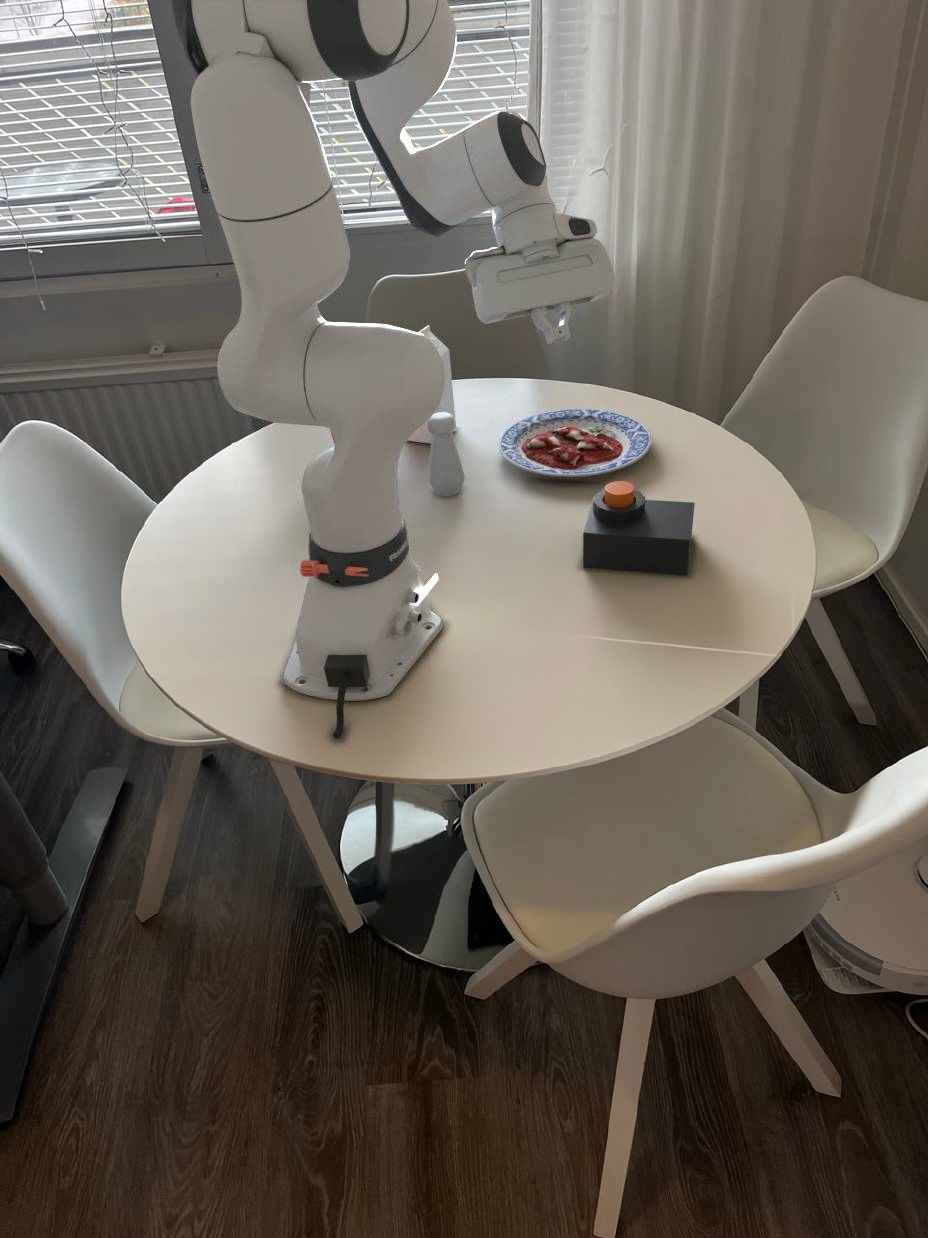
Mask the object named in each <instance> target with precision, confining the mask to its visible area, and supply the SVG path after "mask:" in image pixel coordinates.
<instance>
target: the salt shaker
mask: <svg viewBox="0 0 928 1238" xmlns="http://www.w3.org/2000/svg"><path fill="white" fill-rule="evenodd" d="M427 425H428V430H429V432H431V433H432V438H431V444H430V456H429V471H428V479H429V483H430V486H431V487H432V488H433V490H434V491H435V492H436V494H437V495H438V496H439V497H447V498H449V497H452V496H455V495H457V494H460V491H461V488H462V486H463V484H464V483H465V479H466V475H465V472H464V467H463V465H462V461H461V457H460V455H459V451H458V447H457V443H456V440H455V437H454V432H453V433H452V431H453V430H454V428H455V421H454V417H453V416H452V415H451V414H449V413H445V412H439V413H434V414H433V415H432V417H431V418H430V419H429V420H428V421H427Z"/></svg>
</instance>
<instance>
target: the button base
mask: <svg viewBox="0 0 928 1238" xmlns="http://www.w3.org/2000/svg"><path fill="white" fill-rule="evenodd" d="M694 512H695V501H694V502H693V501H677V500H676V501H675V500H658V499H657V500H656V499H646V496H645V495H644V494H643V493H642V492H641V491H640V490H637V489H635V490H634V503H633V504H632V505H631V506H628V507H623V508H617V507H611V506H609V505H606V504H605V488H604V489H602V490H601V491H599V492H597V493H596V494H594V496H593V498H592V502H591V506H590V508H589V512H588V515H587V519H586V522H585V525H584V528H583V532H582V534H583V535H582V568H583V569H593V570H604V571H605V570H606V571H618V572H619V571H620V572H621V571H622V572H631V573H642V574H643V573H645V574H655V575H656V574H658V575H671V576H682V577H683V576H684V577H687V576H688V572H689V571H688V570H689V564H690V563H689V562H690V553H691V546H692V536H693V524H694Z"/></svg>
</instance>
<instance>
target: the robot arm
mask: <svg viewBox="0 0 928 1238" xmlns="http://www.w3.org/2000/svg"><path fill="white" fill-rule="evenodd" d="M170 2H171V10H172V14H173V19H174V24H175V28H176V31H177V34H178V37H179V39H180V42H181V44H182V46H183V51H184V53H185V56H186V58H187V61H188V62H189V64H190V66H191V68H192V70H193V71H194V73H195V74H196V76H197V77H196V79H195V81H194V82H193V83H194V84H193V86H192V89H191V94H190V109H191V115H192V121H193V122H192V123H193V128H194V133H195V139H196V143H197V149H198V153H199V156H200V161H201V164H202V165H201V166H202V168H203V173H204V176H205V180H206V183H207V187H208V190H209V193H210V196H211V200H212V202H213V205H214V208H215V211H216V214H217V217H218V219H219V222H220V225H221V228H222V230H223V234H224V237H225V239H226V243H227V246H228V250H229V252H230V255H231V258H232V261H233V262H232V263H233V265H234V268H235V272H236V275H237V278H238V283H239V289H240V299H241V302H240V303H241V304H240V305H241V306H240V314H239V318H238V321H237V323H236V325H235V326H234V327H233V329H231V331H230V332H229V333H228V334H227V335H226V337H225V338H224V340H223V342H222V344H221V347H220V349H219V352H218V356H217V363H216V367H217V368H216V370H217V371H216V372H217V379H218V380H217V381H218V384H219V387H220V390H221V391H222V394H223V396H224V398H225V399H226V401H227V403H228V404H229V405H230V407H232V409H234V410H235V411H237V412H238V413H242V414H245V415H247V416H251V417H252V418H253V417H254V418H257V419H260V420H263V421H267V422H270V423H274V424H285V425H286V424H287V425H296V426H297V425H298V426H311V427H312V426H313V427H324V428H327V429H329V431H330V430H331V431H332V434H333V437H334V441H333V444H334V445H333V446H331V447H330V448H327V449H326V450H324V451H323V452H321V453H319V454H318V455H316V456H315V457H314V458H312V460H311V461H310V462H309V463H308V465H306V468H305V470H304V472H303V475H302V478H301V483H300V484H301V486H300V488H301V489H300V490H301V493H302V499H303V502H304V503H303V504H304V507H305V511H306V516H307V520H308V526H309V534H308V553H307V554H308V557H309V558H308V559H305V558H304V559H302V560H301V562H300V565H299V566H300V567H299V573H300V576H302V577H308V579H307V584H306V588H305V592H304V596H303V600H302V604H301V609H300V613H299V617H298V621H297V627H296V629H295V630H296V631H295V640H294V644H293V646H292V649H291V652H290V655H289V658H288V660H287V663H286V666H285V669H284V672H283V674H282V675H283V676H282V677H283V678H282V679H283V683H284V684H285V685H286V686H287V687H288V688H289V689H291V690H293V691H294V692H297V693H299V694H302V695H306V696H308V697H309V696H310V697H314V698H319V699H324V700H335V701H336V706H335V707H336V708H335V709H336V727H335V730H334V732H333V735H332V737H333V738H334V739H336V740H339V739H341V737H342V736H341V735H342V733H343V731H344V727H345V713H344V708H345V706H344V705H345V701H347V702H348V701H349V702H354V701H355V702H357V701H371V700H375V699H379V698H383V697H387V696H389V695H390V694H391V693H392V692H394V690H395V689H396V687H397V686H399V684H400V683H401V681H402V680H403V679H404V677H405V676H406V675H407V673H408V672H409V671H410V670H411V668H413V666H414V665H415V664H416V662H417V661H418V660H419V658H420V657H421V656H422V655H423V654H424V653H425V651H426V650H427V649H428V647H429V646H430V645H431V643H432V642H433V641H434V640H435V638H436V637H437V636H438V635H439V633H441V631H442V629H443V628H444V625H443V622H442V618H441V617H440V616H439V615H438V614H436V613H434V611H432V610H431V609H432V608H431V606H430V599H429V594H428V593H429V592H430V591H431V589H432V588H433V587H434V586H435V585H436V583H437V582H438V581H439V576H438V575H439V574H438V573H435V574H433V576H432V577H431V579H429V581H428V582H427V583H426V581H425V577H424V573H423V571H422V569H421V567H419V566H418V564H416V562H415V561H414V559H413V558H412V556H411V554H410V553H409V551H410V543H409V537H410V536H409V531H408V528H407V525H406V521H405V519H404V518H403V516H402V515H401V514H402V513H401V506H400V497H399V483H398V465H399V460H400V456H401V453H402V451H403V448H404V446H405V445H406V443H407V442H408V441H407V440H408V438H409V437H410V436H411V435H412V434H413V433H414V432H415V431H416V430H417V429H418V428H419V427H421V426H422V425H424V424H425V423H426V422H427V421H428V420H429V419H430V418H431V417H432V415H433V414H434V413H435V411H436V409H437V408H438V406H439V404H440V401H441V399H442V395H443V391H444V384H445V375H444V367H443V363H442V360H441V357H440V355H439V353H438V351H437V349H436V347H435V346H434V344H433V343H432V342H431V340H430V339H429V338H428V337H427V336H426V335H424V334H420V333H418V332H416V331H413V330H410V329H406V328H403V327H398V326H394V325H391V324H386V323H364V322H363V323H362V322H361V323H360V322H333V321H330V320H325V318H324V317H323V316H322V314H321V311H320V309H319V305H318V304H319V303H321V302H323V301H324V300H326V299H327V298H328V297H329V296H330V295H332V294H334V292H336V291H337V289H338V288H339V287H340V286H341V285H342V283H343V282H344V281H345V278H346V276H347V274H348V271H349V269H350V263H351V248H350V245H349V240H348V236H347V233H346V232H347V231H346V227H345V225H344V221H343V217H342V213H341V210H340V209H341V208H340V205H339V201H338V198H337V193H336V189H335V186H334V181H333V177H332V174H331V169H330V167H329V166H330V165H329V163H328V159H327V156H326V152H325V149H324V146H323V143H322V140H321V137H320V135H319V134H320V133H319V132H318V129H317V127H316V123H315V121H314V118H313V115H312V113H311V90H312V84H311V83H316V82H317V83H318V82H319V83H320V82H329V81H334V80H343V81H347V90H348V96H349V102H350V104H351V109H352V112H353V114H354V117H355V120H356V122H357V124H358V126H359V128H360V130H361V132H362V134H363V137H364V138H365V140H366V142H367V144H368V146H369V148H370V150H371V151H372V152H373V154H374V156H375V158H376V160H377V162H378V164H379V165H380V167H381V168H382V170H383V172H384V174H385V175H386V177H387V179H388V181H389V182H390V184H391V186H392V188H393V190H394V192H395V194H396V196H397V199H398V201H399V204H400V206H401V209H402V210H403V213H404V215H405V217H406V219H407V220H408V221H409V224H410V225H411V226H412V227H413V228H414V229H416V230H417V231H418V232H421V233H424V234H426V235H429V236H433V237H441V236H443V235H444V234H446V233H448V232H449V231H452V230H453V229H455V228H457V227H458V226H459V225H460V224H462V223H464V222H466V221H468V220H470V219H472V218H474V217H477V216H478V215H481V214H482V213H485V212H487V211H489V210H490V213H491V217H492V218H491V219H492V231H493V233H494V237H495V240H496V244H497V247H491V248H488V249H484V250H475V251H473V252H471V255H469V256H468V257H467V258H466V259H465V262H464V271H465V274H466V278H467V280H468V282H469V284H470V285H471V294H472V298H473V304H474V305H473V306H474V310H475V314H476V317H477V319H478V320H479V321H480V322H482V323H483V324H485V325H487V324H493V323H497V322H502V321H506V320H507V321H508V320H511V319H516V318H522V317H526V316H530V317H531V321H532V323H533V324H534V325H535V326H536V327H537V328H538V329H539V330H540V331H541V332H542V333H543V334H544V338H545V342H546V343H547V345H551V344H556V343H560V342H564V341H567V340H569V339H570V338H571V331H570V327H569V323H570V319H571V314H572V307H573V306H574V307H575V306H578V305H583V304H587V303H593V302H597V301H602V300H604V299H606V298H607V297H609V296H610V295H611V294H612V293H613V292H614V290H615V288H616V284H617V278H616V275H615V272H614V268H613V265H612V262H611V259H610V255H609V254H608V252H607V249H606V247H605V245H604V244H603V243H602V242H601V241H600V240H599V239H597V238H595V236H596V235H597V234H598V226H597V224H596V222H595V221H594V220H593V219H591V218H585V217H579V216H574V215H569V214H567V213H562V212H558V211H557V207H556V204H555V202H554V201H553V199H552V198H551V195H550V193H549V189H548V175H547V172H546V171H547V169H548V168H547V167H548V166H547V163H546V160H545V156H544V152H543V149H542V148H543V147H542V146H541V145H542V144H541V142H540V139H539V135H538V134H537V132H536V130H535V128H534V127H533V125H532V124H531V123H530V122H529V121H527V120H526V119H525V117H524V116H523V115H522V114H521V113H520V112H517V111H515V110H512V109H511V110H509V109H502V110H498V111H494V112H491V113H488V114H487V115H485V116H484V117H482V119H480V120H478V121H476V122H473V123H471V124H470V125H468V126H466V127H465V128H463V129H461V130H460V131H458V132H456V133H453V134H452V135H450V136H448V137H446V138H445V139H443V140H441V141H438V142H436V143H435V144H433V145H430V146H427V147H424V148H417V149H416V148H414V146H413V144H412V142H411V140H410V137H409V136H408V133H407V132H406V130H405V128H406V126H407V124H408V123H409V122H410V121H411V119H412V118H413V117H414V116H415V115H416V114H417V113H418V112H419V111H420V110H421V109H422V108H423V107H424V106H426V105H427V103H429V102H430V101H431V100H432V99H433V98H434V97H435V96H436V95H437V93H439V91H440V89H441V88H442V87H443V85H444V83H445V82H446V80H447V78H448V77H449V73H450V71H451V68H452V65H453V62H454V59H455V54H456V47H457V26H456V21H455V18H454V15H453V12H452V9H451V7H450V5H449V2H448V0H170ZM549 311H554V313H555V316H556V317H557V318H558V317H559V323H558V325H556V326H553V324H551V322H550V320H548V318H547V317H546V316H547V315H548V312H549ZM331 431H330V432H331ZM332 434H331V435H332Z"/></svg>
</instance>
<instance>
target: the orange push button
mask: <svg viewBox="0 0 928 1238" xmlns="http://www.w3.org/2000/svg"><path fill="white" fill-rule="evenodd" d="M604 489H605V504H606V505H609V506H611V507H617V508H623V507H628V506H631V505H632V504H633V503H634V490H636V488H635V486H634V484H632V483H631V482H629V481H623V480H617V481H616V480H615V481H611V482H608V483H606V485H605V487H604Z"/></svg>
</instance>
